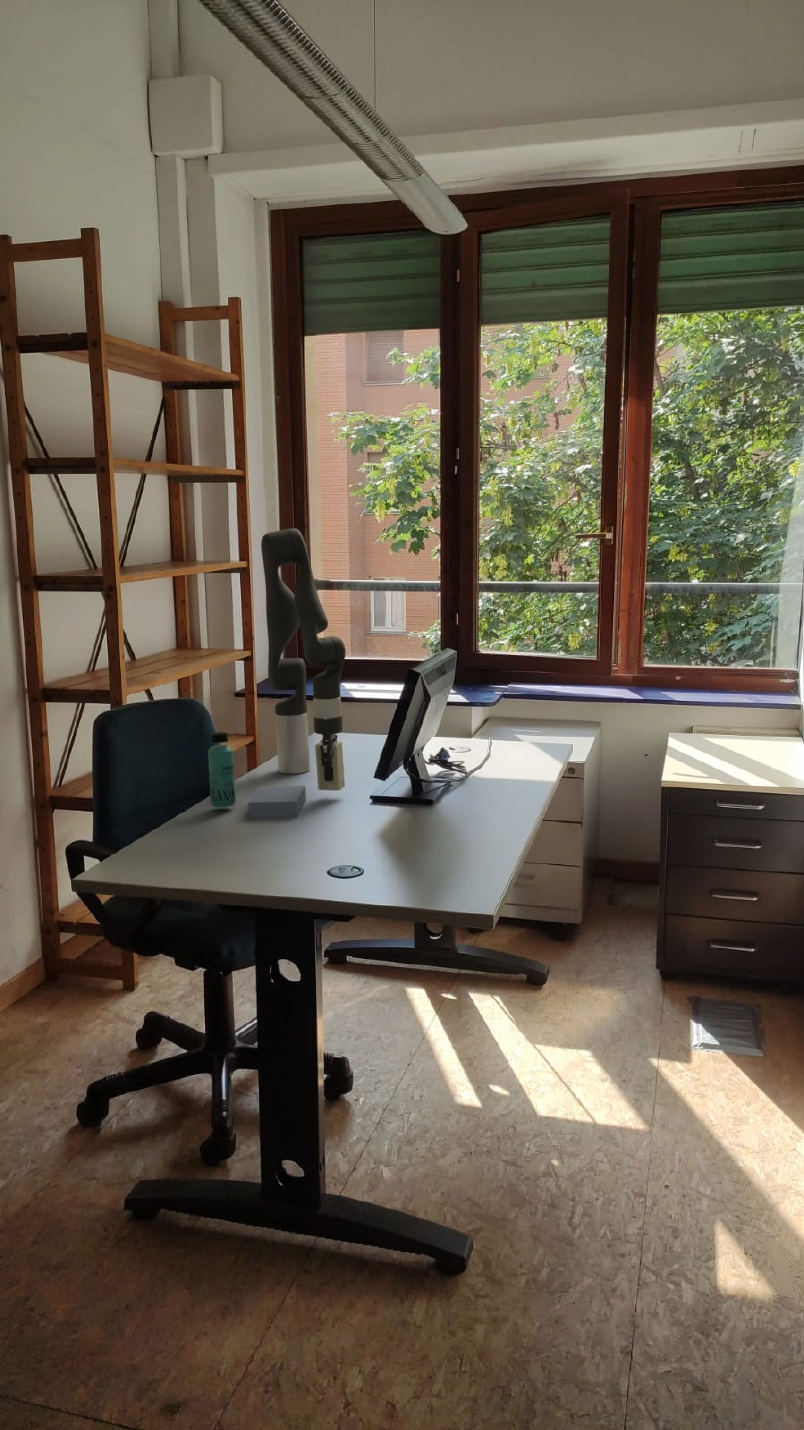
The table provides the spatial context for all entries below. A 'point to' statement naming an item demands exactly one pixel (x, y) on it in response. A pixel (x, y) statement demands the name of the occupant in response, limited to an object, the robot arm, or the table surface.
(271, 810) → the flat grey slab
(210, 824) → the table surface
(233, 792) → the beverage bottle
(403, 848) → the table surface
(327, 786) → the skincare box
